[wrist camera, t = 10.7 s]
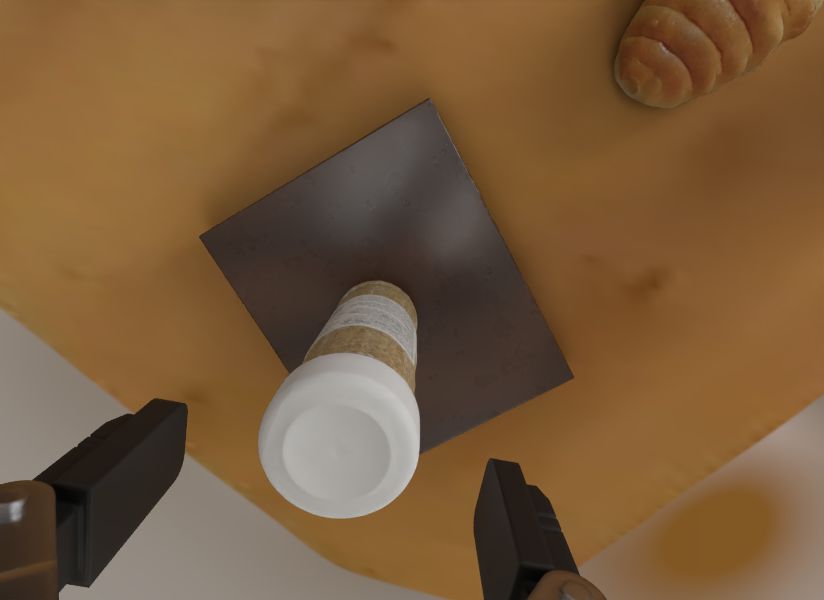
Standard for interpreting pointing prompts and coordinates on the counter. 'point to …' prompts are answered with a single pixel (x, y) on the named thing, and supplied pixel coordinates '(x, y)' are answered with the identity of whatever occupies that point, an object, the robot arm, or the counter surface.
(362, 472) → the sprinkles bottle
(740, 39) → the pastry
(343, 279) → the walnut board
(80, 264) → the counter surface
